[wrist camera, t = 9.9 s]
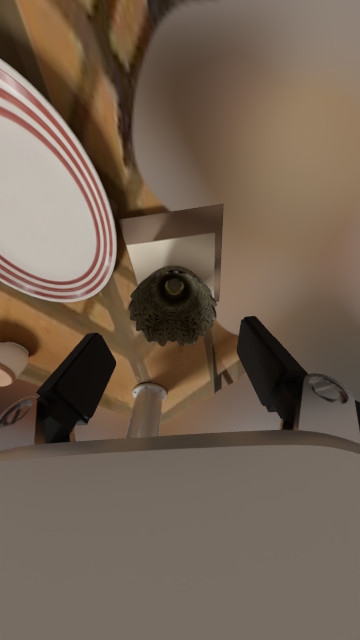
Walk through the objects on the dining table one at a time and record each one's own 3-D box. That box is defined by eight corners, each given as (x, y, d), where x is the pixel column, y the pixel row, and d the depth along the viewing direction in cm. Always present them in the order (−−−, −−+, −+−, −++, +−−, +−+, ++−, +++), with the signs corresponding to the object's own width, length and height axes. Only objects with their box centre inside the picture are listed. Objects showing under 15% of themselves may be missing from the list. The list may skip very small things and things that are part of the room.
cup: (146, 305, 20) (130, 345, 13) (145, 249, 16) (123, 266, 9) (196, 310, 21) (205, 351, 14) (208, 258, 16) (229, 280, 10)
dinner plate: (80, 318, 33) (71, 326, 31) (-89, 213, 22) (-127, 211, 19) (156, 224, 23) (153, 224, 20) (-90, -68, 12) (-174, -160, 9)
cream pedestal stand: (217, 298, 30) (231, 325, 22) (146, 306, 31) (135, 334, 23) (220, 205, 21) (247, 191, 13) (121, 220, 22) (88, 216, 14)
